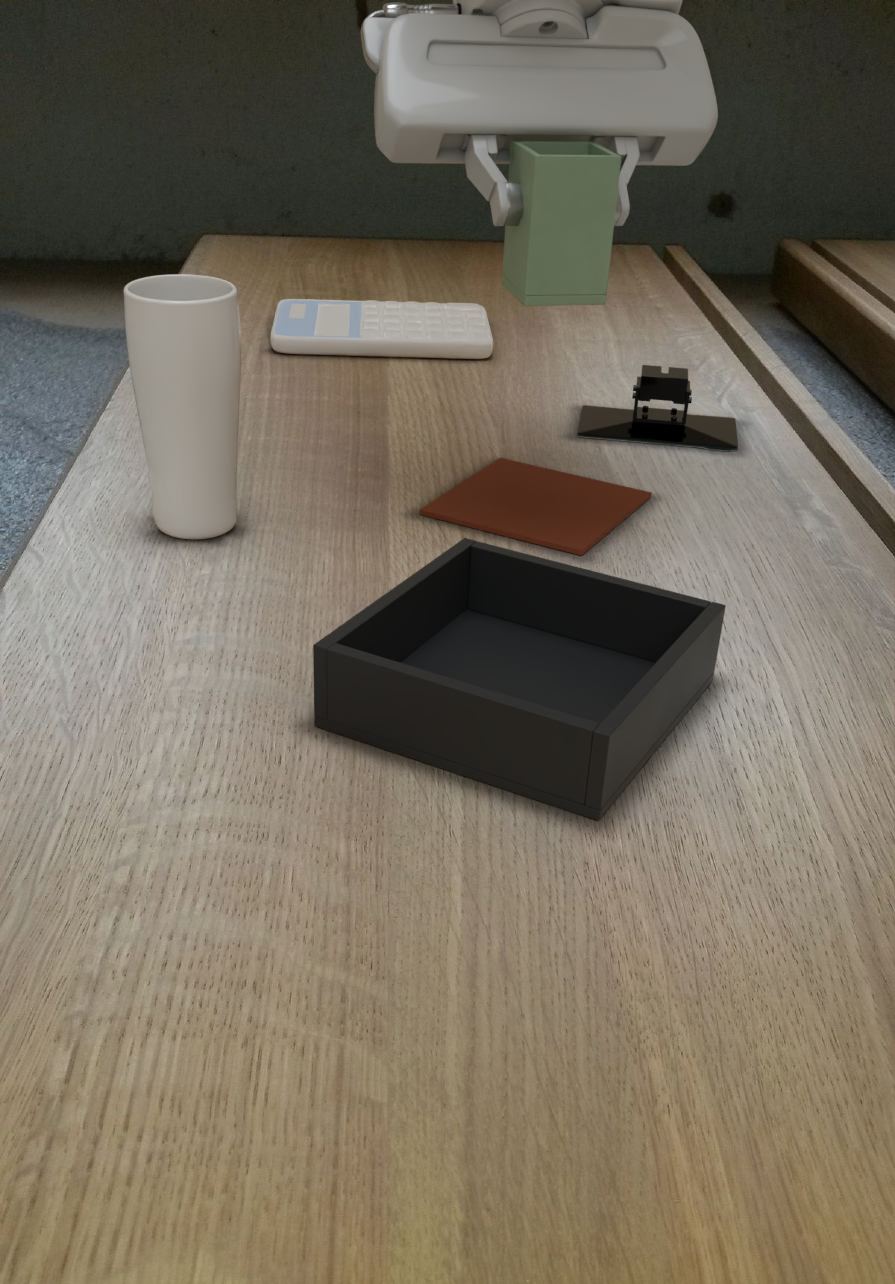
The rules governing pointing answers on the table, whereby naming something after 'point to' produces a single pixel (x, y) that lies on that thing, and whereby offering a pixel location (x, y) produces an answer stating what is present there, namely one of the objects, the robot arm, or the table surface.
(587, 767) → the bin
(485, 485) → the mat
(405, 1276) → the table surface
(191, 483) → the drinking glass
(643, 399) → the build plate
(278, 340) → the calculator
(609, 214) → the box
